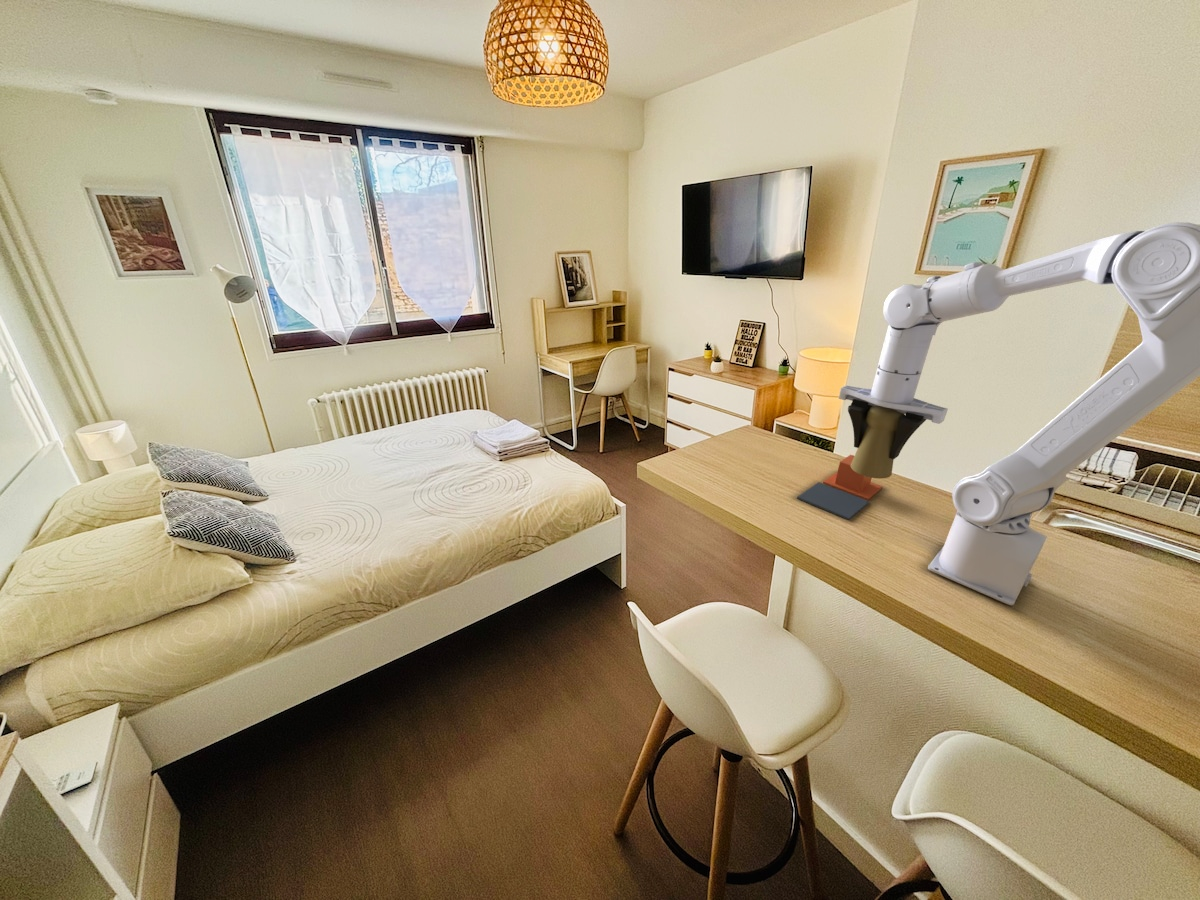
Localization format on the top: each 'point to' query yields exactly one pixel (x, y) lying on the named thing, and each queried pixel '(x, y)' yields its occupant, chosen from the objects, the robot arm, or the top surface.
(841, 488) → the terracotta mat
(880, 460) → the cork
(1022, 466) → the robot arm
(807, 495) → the slate mat
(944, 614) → the top surface
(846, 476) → the terracotta block
